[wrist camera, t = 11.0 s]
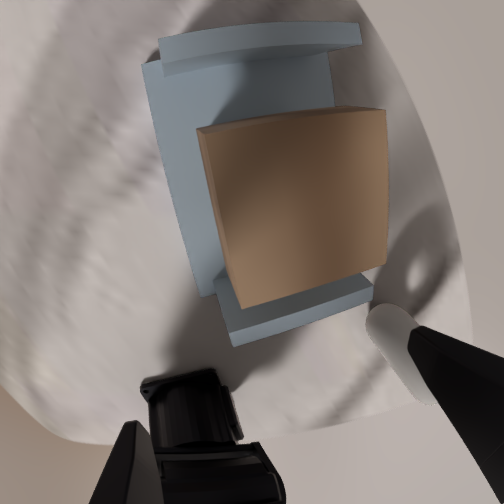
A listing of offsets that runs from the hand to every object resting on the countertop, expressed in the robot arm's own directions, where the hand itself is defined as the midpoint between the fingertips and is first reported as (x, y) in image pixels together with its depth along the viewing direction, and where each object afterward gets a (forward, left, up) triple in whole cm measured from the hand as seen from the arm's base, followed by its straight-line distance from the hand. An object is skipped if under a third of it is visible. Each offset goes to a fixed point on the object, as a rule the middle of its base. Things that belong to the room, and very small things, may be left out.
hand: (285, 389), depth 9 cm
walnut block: (+3, +3, -7) cm, 8 cm away
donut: (+12, -12, -12) cm, 21 cm away
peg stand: (+3, +3, -12) cm, 13 cm away
